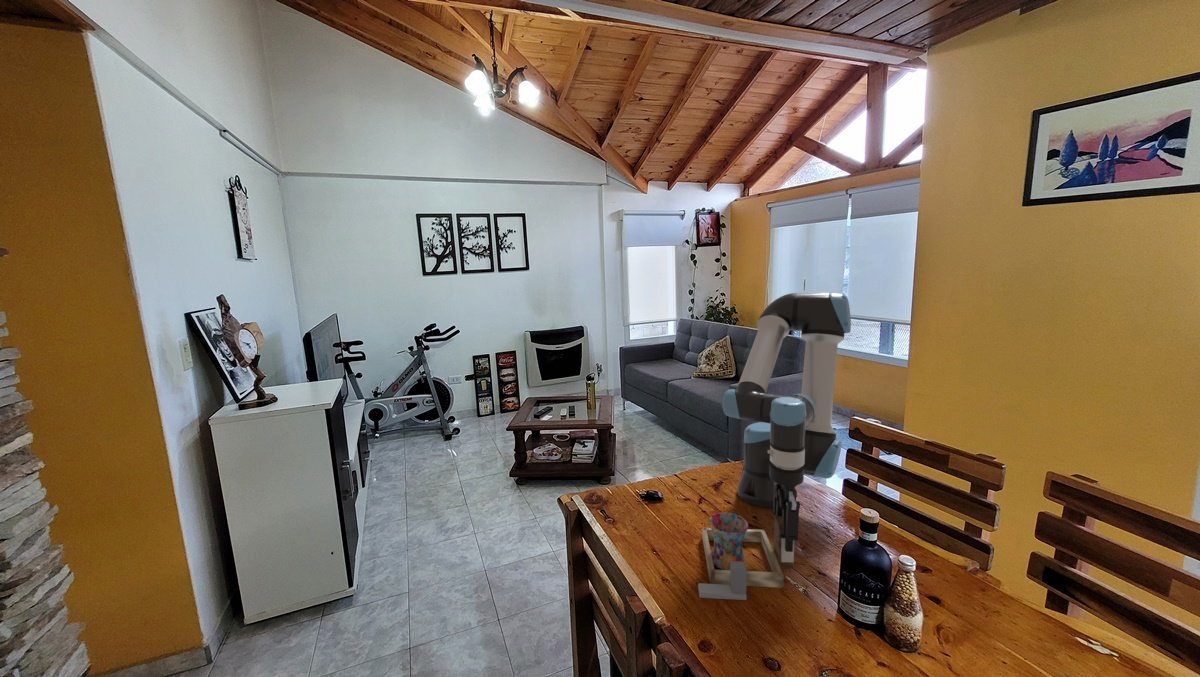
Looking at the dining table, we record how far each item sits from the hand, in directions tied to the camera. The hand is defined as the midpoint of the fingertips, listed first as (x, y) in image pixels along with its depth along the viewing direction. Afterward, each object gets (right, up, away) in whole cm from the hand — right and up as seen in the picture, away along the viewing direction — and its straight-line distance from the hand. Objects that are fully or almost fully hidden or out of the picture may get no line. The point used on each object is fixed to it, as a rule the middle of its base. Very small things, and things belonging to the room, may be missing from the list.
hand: (784, 554), depth 109 cm
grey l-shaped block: (-18, -4, -9) cm, 21 cm away
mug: (-12, -3, +2) cm, 13 cm away
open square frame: (-8, -2, +1) cm, 9 cm away
